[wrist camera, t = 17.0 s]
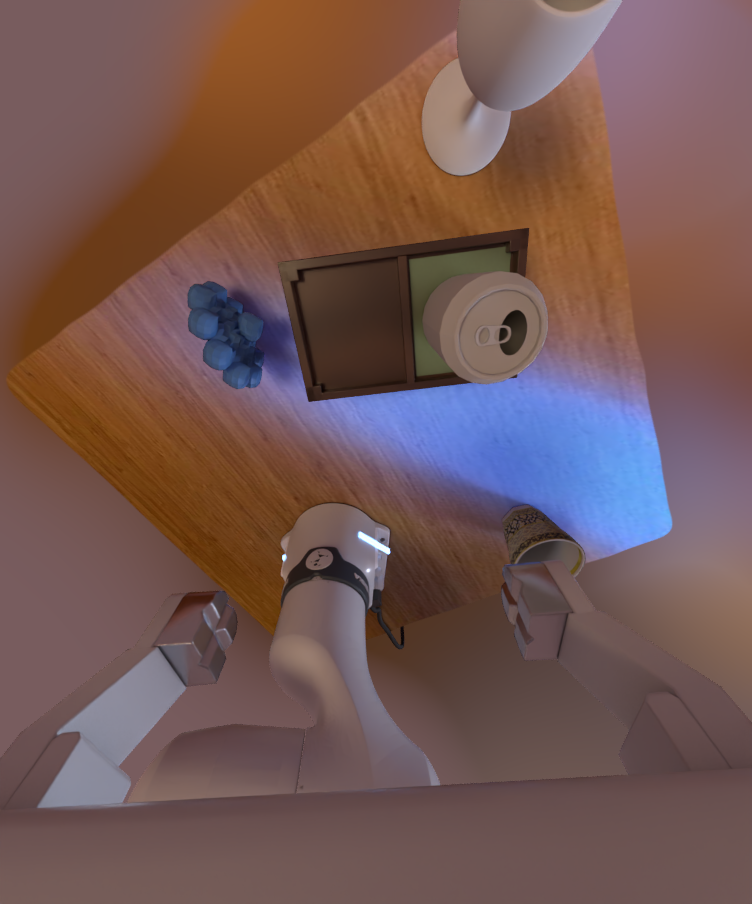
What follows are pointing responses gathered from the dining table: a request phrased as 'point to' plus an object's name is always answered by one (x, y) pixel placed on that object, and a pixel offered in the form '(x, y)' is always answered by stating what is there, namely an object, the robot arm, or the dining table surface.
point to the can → (486, 324)
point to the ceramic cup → (539, 539)
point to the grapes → (226, 334)
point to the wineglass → (503, 72)
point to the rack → (382, 311)
